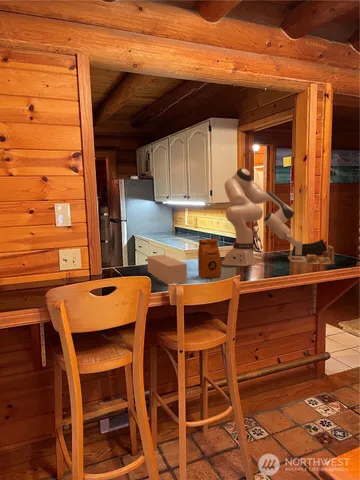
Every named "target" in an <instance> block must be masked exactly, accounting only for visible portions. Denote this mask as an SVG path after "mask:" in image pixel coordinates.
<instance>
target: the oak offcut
mask: <svg viewBox="0 0 360 480" xmlns="http://www.w3.org/2000/svg"><path fill="white" fill-rule="evenodd" d="M306 257H307V258H309V259H313V258H317V259H318V255H307V256H306Z"/></svg>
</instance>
